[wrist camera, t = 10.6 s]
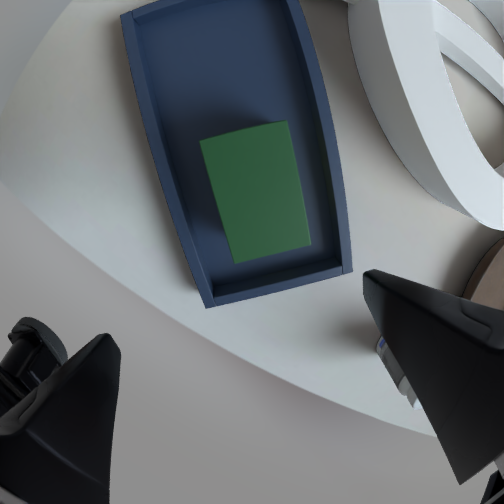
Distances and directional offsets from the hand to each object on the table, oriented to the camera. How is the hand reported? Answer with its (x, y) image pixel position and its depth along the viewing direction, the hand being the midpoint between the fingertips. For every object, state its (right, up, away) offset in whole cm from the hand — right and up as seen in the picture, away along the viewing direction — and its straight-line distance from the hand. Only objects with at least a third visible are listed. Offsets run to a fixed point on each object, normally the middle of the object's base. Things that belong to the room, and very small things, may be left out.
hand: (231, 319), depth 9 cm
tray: (0, +10, +8) cm, 13 cm away
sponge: (+1, +7, +9) cm, 11 cm away
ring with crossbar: (+21, +19, +6) cm, 29 cm away
